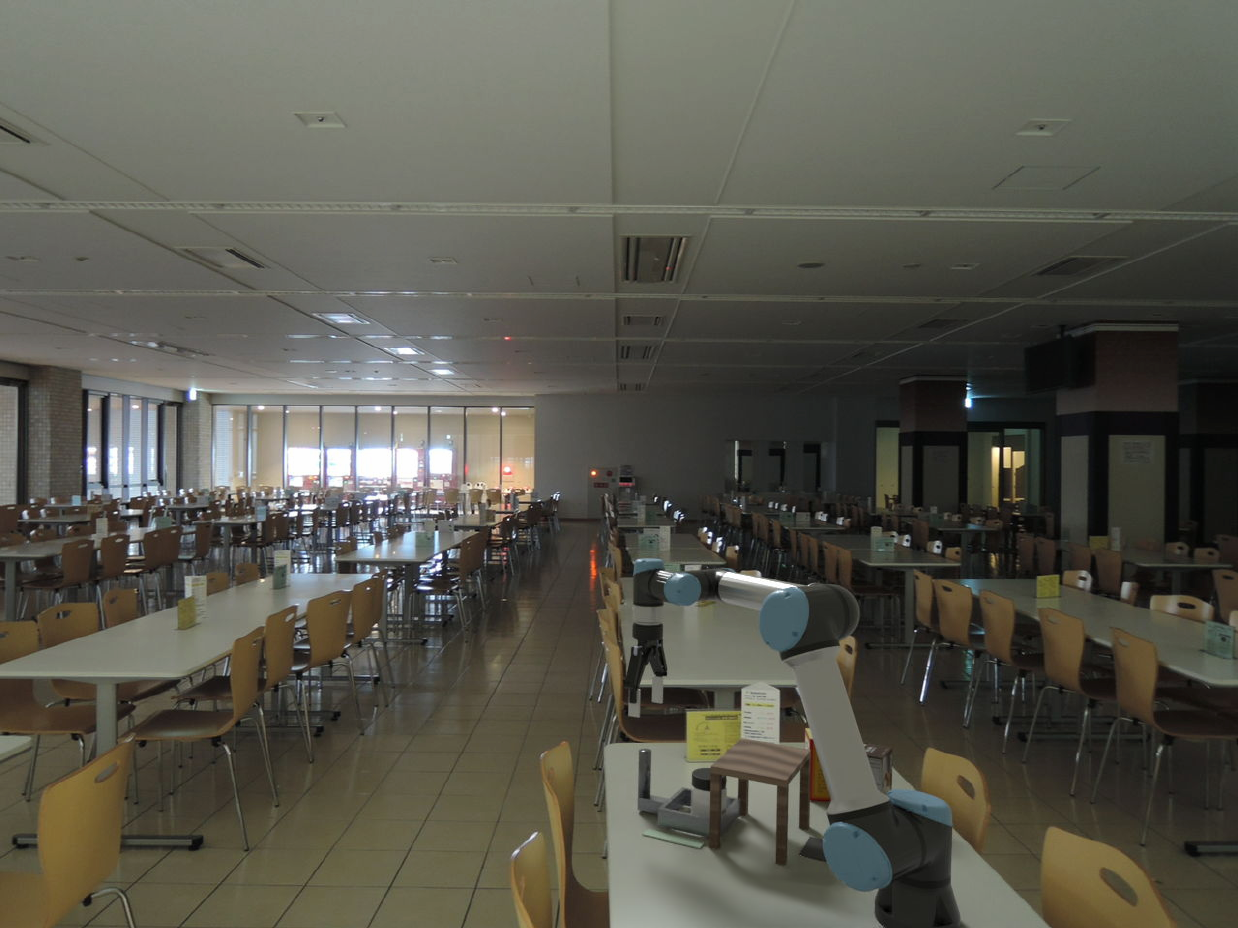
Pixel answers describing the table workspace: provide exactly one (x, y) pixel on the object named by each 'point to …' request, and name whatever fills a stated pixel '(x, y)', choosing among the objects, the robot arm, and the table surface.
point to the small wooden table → (762, 767)
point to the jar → (704, 792)
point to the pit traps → (813, 849)
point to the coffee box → (880, 766)
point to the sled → (678, 805)
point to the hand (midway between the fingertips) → (646, 709)
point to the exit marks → (673, 838)
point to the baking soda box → (816, 772)
